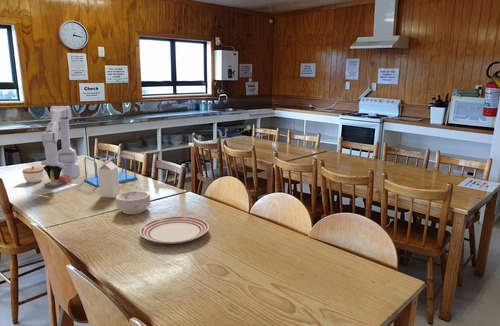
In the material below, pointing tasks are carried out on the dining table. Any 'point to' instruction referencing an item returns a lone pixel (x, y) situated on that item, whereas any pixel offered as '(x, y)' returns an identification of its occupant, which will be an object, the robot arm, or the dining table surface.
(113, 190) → the milk carton
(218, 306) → the dining table surface
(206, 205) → the dining table surface
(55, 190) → the board
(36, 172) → the lidded jar
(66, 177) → the die
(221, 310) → the dining table surface
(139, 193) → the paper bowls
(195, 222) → the dinner plate
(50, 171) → the tan rounded peg
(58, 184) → the dome housing
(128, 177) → the file sorter
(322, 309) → the dining table surface
